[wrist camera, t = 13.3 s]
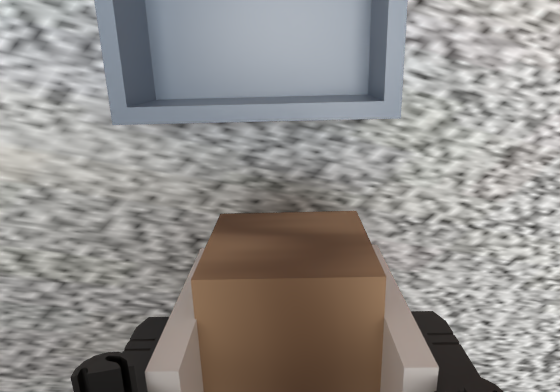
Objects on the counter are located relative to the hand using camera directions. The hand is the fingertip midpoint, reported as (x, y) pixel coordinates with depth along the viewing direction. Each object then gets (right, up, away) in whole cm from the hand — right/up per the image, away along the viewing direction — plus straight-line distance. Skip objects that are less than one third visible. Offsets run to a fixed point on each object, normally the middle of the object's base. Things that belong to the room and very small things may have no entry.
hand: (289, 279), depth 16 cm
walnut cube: (0, 0, 0) cm, 1 cm away
